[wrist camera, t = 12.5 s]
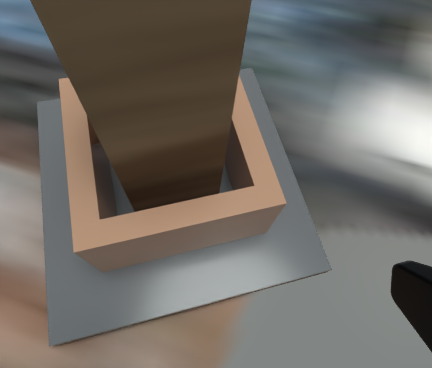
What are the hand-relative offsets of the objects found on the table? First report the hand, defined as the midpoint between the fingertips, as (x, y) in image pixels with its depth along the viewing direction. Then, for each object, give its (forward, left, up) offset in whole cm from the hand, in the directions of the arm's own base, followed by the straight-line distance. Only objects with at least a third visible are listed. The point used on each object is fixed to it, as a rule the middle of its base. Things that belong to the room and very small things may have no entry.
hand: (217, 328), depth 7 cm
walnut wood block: (+2, +7, -8) cm, 11 cm away
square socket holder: (+2, +7, -8) cm, 11 cm away
